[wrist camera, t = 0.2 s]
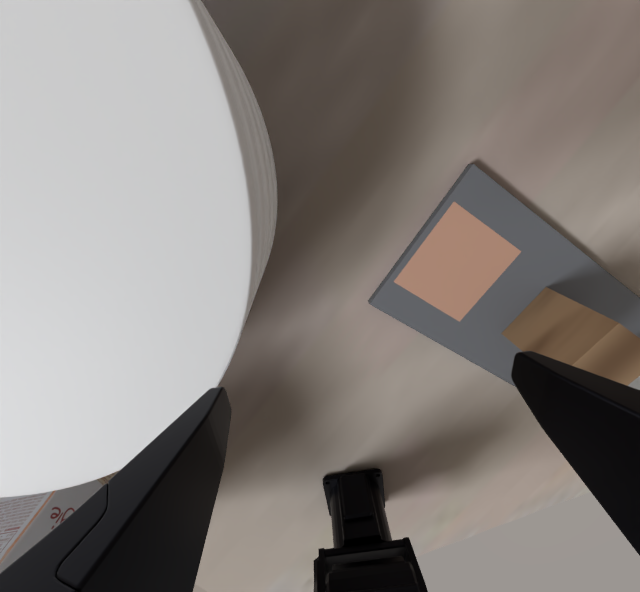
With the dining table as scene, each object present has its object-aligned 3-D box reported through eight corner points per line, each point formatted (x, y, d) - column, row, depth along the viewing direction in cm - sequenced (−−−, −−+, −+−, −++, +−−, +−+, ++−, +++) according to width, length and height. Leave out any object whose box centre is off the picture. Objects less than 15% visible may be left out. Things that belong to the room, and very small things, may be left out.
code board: (685, 337, 27) (693, 341, 27) (581, 422, 31) (586, 427, 31) (468, 164, 20) (473, 164, 20) (368, 300, 24) (369, 304, 23)
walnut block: (584, 314, 25) (663, 356, 20) (539, 357, 27) (601, 406, 21) (545, 286, 24) (619, 322, 18) (501, 333, 25) (556, 379, 20)
